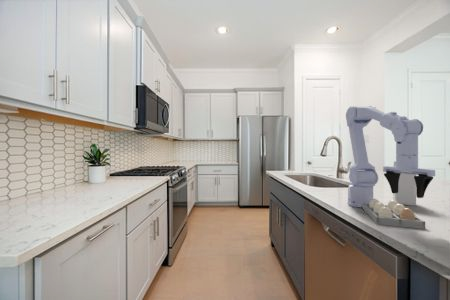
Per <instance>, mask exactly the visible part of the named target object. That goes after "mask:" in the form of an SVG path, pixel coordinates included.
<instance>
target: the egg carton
mask: <svg viewBox="0 0 450 300" xmlns="http://www.w3.org/2000/svg"><path fill="white" fill-rule="evenodd" d="M387 205H388V204H387ZM387 205H386V204H384V206H385V207H387ZM362 209H363V211H364V212H365V213H366V214H367V215H368V216H369V217H370V218H371V219H372V220H373V222H374V223H375V224H376V225H382V226H383V225H384V226H394V227H404V228H405V227H406V228H412V229H415V228H416V229H426V221H425V220H423V219H422V218H420V217H418V216H417V215H415V220H407V219H400V214H394V213H393V209H390V210H391V212H392V218H384V217H379V212H374V208H369V204H363V207H362Z"/></svg>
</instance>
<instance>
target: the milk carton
mask: <svg viewBox="0 0 450 300" xmlns="http://www.w3.org/2000/svg"><path fill="white" fill-rule="evenodd" d="M393 167H396V161H393ZM400 172H410V171H400ZM410 173H412V172H410ZM414 176H417V175H414V174H404V173H401V174H400V177H399V183H398V193H392V196H393V197H392V200H395V201H397V202H398V204H402V205H404V206H415V207H416V206H417V195H416V182H415V179H414Z"/></svg>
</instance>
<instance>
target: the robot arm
mask: <svg viewBox="0 0 450 300" xmlns="http://www.w3.org/2000/svg"><path fill="white" fill-rule="evenodd" d="M345 119H346V126H347V127H348V132H349V136H350V143H351V149H352V150H351V151H352V157H353V162H354V164H353V165H352V166H350V167H349V168H348V169H349V175H348V179H349V182H350V183H351V184H349V185H348V187H347V203H348V204H349V206H350V207H354V208H355V207H356V208H358V207H359V208H363V204H369V203H370V201H371V200H372V199H374V187H375V186H376V184H377V183H378V181H379V174H378V173H377V170H376V167H375V166H374V165H372V164H371V163H370V162H369V157H368V151H367V146H366V142H365V136H364V128H365V127H367V126H368V125H369V124H370V123H371V121H372V120H375V121H378V122H379V125H380V126H381V127H382V128H385V129H387V130H389V131H390V132H391V134H392V135H393V138H394V142H395V147H396V148H395V162H396V167H394V166H388V165H387V166H382V167H383V168H382V170H383V175H384V177H385V178H386V181H387V182H388V185H389V187H390V191H391V193H392V194H393V193H398V183H399V177H400V174H401V173H404V174H414V175H416V176H414V179H415V182H416V199H417V198H418V199H423V198H424V197H425V192H426V191H427V188H428V186H429V184H430V183H431V182H432V181H433V179H434V177H436V169H427V168H426V169H425V168H419V136H420V135H421V134H422V133H423V131H424V124H423V123H422V121H420V120H419V119H416V118H413V119H409V118H408V117H407V116H405V115H404V116H402V115H398V113H397V112H396V111H390V112H386V113H385V112H383V111H382V110H379V109H377V107H376V106H372V105H369V106H354V105H352V106H349V107H348V109H347V110H346V112H345ZM400 171H410V172H412V173H410V172H400Z"/></svg>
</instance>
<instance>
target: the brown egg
mask: <svg viewBox="0 0 450 300" xmlns="http://www.w3.org/2000/svg"><path fill="white" fill-rule="evenodd" d="M415 216H416V215H415V213H414V211H413V210H412V209H411V208H408V207H405V208H404V209H403V210H402V211H401V212H400V219H407V220H415Z"/></svg>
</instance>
